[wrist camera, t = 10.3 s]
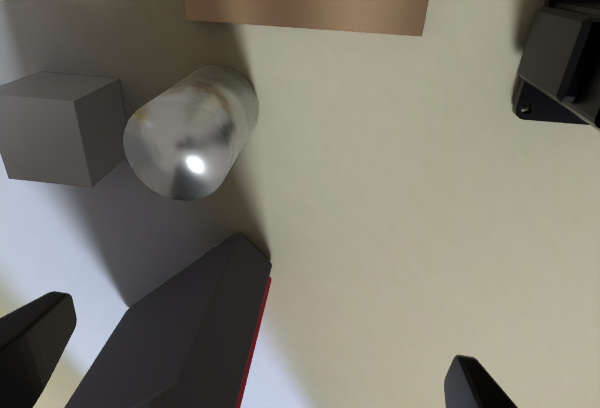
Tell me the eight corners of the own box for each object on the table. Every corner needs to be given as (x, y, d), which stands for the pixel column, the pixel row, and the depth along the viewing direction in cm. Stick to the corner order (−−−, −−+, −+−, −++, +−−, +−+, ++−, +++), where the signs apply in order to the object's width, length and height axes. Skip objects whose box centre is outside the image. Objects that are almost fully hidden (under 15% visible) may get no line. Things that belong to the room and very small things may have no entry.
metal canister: (259, 67, 20) (226, 104, 14) (258, 147, 22) (230, 205, 16) (175, 61, 20) (114, 96, 15) (183, 140, 22) (131, 195, 17)
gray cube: (119, 78, 21) (73, 101, 17) (131, 153, 23) (91, 187, 19) (42, 71, 21) (-19, 92, 17) (60, 146, 23) (8, 178, 19)
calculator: (167, 340, 30) (27, 632, 17) (119, 303, 28) (-74, 589, 15) (282, 269, 25) (214, 586, 12) (233, 221, 24) (98, 521, 11)
